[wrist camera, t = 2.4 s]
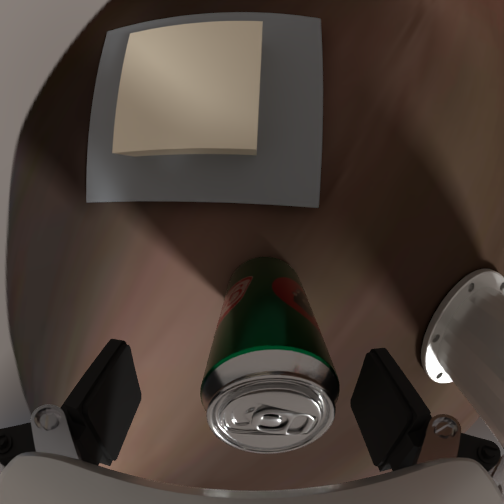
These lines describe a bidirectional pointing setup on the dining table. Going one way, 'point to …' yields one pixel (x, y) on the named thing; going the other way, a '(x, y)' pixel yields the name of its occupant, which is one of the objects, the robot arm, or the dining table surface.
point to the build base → (223, 173)
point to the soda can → (268, 364)
